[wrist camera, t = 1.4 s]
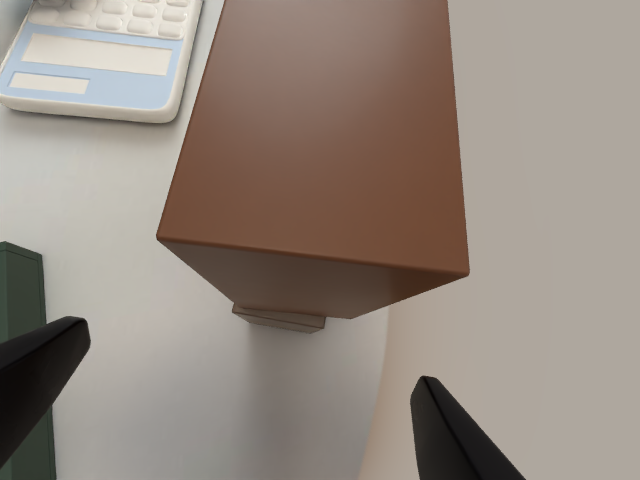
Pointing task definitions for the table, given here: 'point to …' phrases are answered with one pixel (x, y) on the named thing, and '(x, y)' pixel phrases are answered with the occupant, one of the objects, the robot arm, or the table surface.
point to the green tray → (11, 321)
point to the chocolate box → (323, 158)
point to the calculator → (101, 58)
